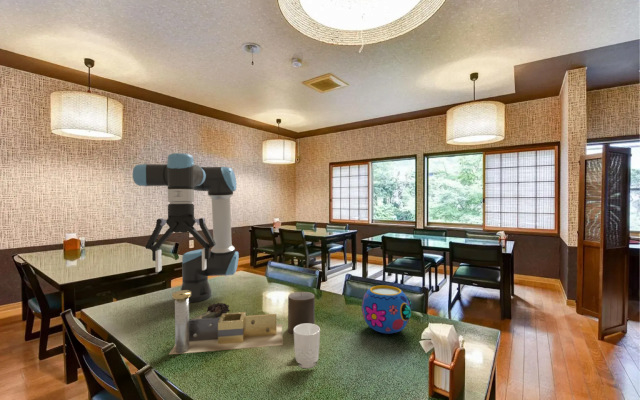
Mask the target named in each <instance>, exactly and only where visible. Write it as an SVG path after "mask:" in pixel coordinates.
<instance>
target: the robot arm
mask: <svg viewBox="0 0 640 400" xmlns="http://www.w3.org/2000/svg"><path fill="white" fill-rule="evenodd" d="M132 179H133V182H134V183H135V184H136V185H137V186H139V187H167V202H168V205H167V219H164V218H157V219H156V224H155V228H154V230H153V231H152V233H151V235H150V237H149V239H148V240H147V243H146V245H145V246H144V247H145V249H146V250H151V254H152V255H151V256H152V257H151V258H152V259H151V260H152V261H153V262H155V273H159V272H161V271H162V269H163V266H162V263H163V261H162V259H163V257H162V252H163V251H162V249H160V248H161V246H163V244H164V243H165V242H167V240H168V239H169V238H170V236H171V235H172V234H173V233H175V234H179V233H182V234H183V233H185V234H186V233H189V234H190V235H192V237H193V238H194V239H195V240H196V241H197V242H198V243H199V244H200V245H201V246H202V247H203V248H200V249H195V250H191V251H187V252H185V253H183V254H182V261H181V265H182V266H181V268H182V270H181V272H182V273H181V274H182V276H181V277H182V278H181V279H182V280H181V281H182V284H181V287H180V290H179V291H181V290H190V291H191V296H190V297H189V303H196V302H201V301H206V300H208V299H209V298H211V297H212V296H213V294H212V293H213V292H212V288H211V286H210V283H209V277H214V276H215V277H219V276H225V277H227V276H234V275H235V274H236V272H237V269H238V266H239V265H238V264H239V257H240V256H239V254H240V253H239V251H236V248H235V246H234V245H233V244H232V243H233V242H232V240H233V239H232V214H231V198H232V196H234V192H235V191H237V178H236V174H235V172H234V170H233V168H232V167H227V166H199V165H197V164H195V162H194V157H193V155H191V154H189V153H179V152H178V153H175V152H174V153H170V154H168V156H167V162H166V164H162V163H161V164H159V163H158V164H157V163H155V164H151V163H150V164H149V163H144V164H143V163H141V164H136V165H135V166H134V167H133V169H132ZM195 191H197V192H207V196H208V197H209V198H211V216H212V234H211V232H210V230H209V228H208V226H207V225H206V218H205V217H200V218H195V204H194V203H193V202H195ZM166 224H167V226H168V229H167V230H166V231H165V232H164V233H163V235H162V236H161V237H160V238H159V239H158V237H159V235H160V232H161V231H162V229H163V227H164V226H166ZM195 224H197V226H199V227H200V230H201V232H203V233H202V234H203V235H204V237H205V238H206V240H207V241H206V240H205V238H204V237H203V236H202V235H201V234H200V233H199V232H198V231H197V229H196V228H195V227H194V226H195ZM157 239H158V241H157ZM155 242H156V243H155ZM210 248H211V249H210Z"/></svg>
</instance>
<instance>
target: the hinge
mask: <svg viewBox="0 0 640 400" xmlns="http://www.w3.org/2000/svg"><path fill="white" fill-rule="evenodd" d="M189 319H190V320H189V341H202V340H215V339H218V344H227V343H239V342H243V341H244V337H254V336H267V335H277V328H276V324H277V313H270V314H269V313H267V314H253V315H246V311H241V312H239V311H238V312H227V313H222V315H221V316H219V317H217V318H205V319H191V318H189Z"/></svg>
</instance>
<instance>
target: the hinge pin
mask: <svg viewBox="0 0 640 400" xmlns="http://www.w3.org/2000/svg"><path fill="white" fill-rule="evenodd" d="M190 296H191V291H190V290H181V291H180V290H178V291H177V290H176V291H174V292H173V293H171V297H172V300H174V330H175V331H174V335H175V336H174V337H175V338H174V340H175V342H174V343H175V344H174V346H175V352H176V353H181V354H186V353H185V352H187V351H188V350H189V319H190V302H189V297H190Z"/></svg>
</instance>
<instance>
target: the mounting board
mask: <svg viewBox="0 0 640 400" xmlns="http://www.w3.org/2000/svg"><path fill="white" fill-rule="evenodd" d="M276 328H277V335H267V336H254V337H244V341H243V342H239V343H227V344H218V339H215V340H202V341H189V350H188V351H187V352H185V353H184V354H192V353H201V352H204V353H206V352H214V351H215V352H216V351H225V350H238V349H251V348H263V347H275V346H277V347H278V346H284V342H283V340H284V339H283V324H282V323H276ZM178 354H182V353H176V352H175V345H174V346H173V347H172V349H170V352H169V353H168V354H167V355H178Z"/></svg>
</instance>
